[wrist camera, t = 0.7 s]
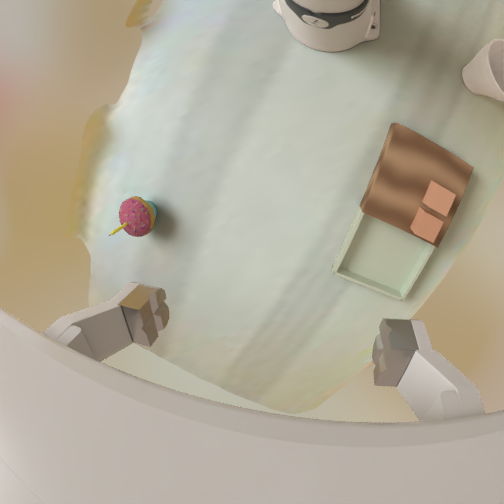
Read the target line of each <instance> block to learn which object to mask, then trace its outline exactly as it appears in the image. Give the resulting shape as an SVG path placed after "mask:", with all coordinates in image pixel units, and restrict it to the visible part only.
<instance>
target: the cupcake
mask: <svg viewBox="0 0 504 504" xmlns="http://www.w3.org/2000/svg"><path fill="white" fill-rule="evenodd" d="M156 215H157V211H156V208H155V206H154V204H153V203H151V202H150V201H145V200H143V199H142V198H141V197H137V196H135V197H131V198H129V199H126V201H124V202H122V205H121V207H120V211H119V218H120V222H121V226H120V227H118V228H117V229H115V230H114V231H112V232H111V234H110V235H113V234H115V233H116V232H118V231H119V230H121V229H122V228H123V229H124V230H125V231H126V232H127V233H128V234H129V235H132V236H137V237H138V236H140V237H141V236H144V235H146V234H148V233H149V232H150V231H151V230H152V229H153V227H154V222H155V218H156ZM110 235H109V236H110Z"/></svg>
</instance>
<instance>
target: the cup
mask: <svg viewBox="0 0 504 504" xmlns="http://www.w3.org/2000/svg"><path fill="white" fill-rule="evenodd" d="M462 78H463V81H464V83H465V85H466V87H467V88H468V89H469V90H470V91H471V92H472V93H474V94H477V95H485V96H489V97H491V98H494V99H496V100H499V101H502V102H504V40H503V39H495V40H492V41H491V42H489V43H487V44H486V45H485V46H484V47H483V48H482V49H481V50H480V51H479V52H478V53H477V54H476V56H475V57H474V59H473V60H472V61H471V62H470V63H469V64H467V65H466V66H465V67H464V68H463V70H462Z"/></svg>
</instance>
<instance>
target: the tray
mask: <svg viewBox="0 0 504 504" xmlns="http://www.w3.org/2000/svg"><path fill="white" fill-rule="evenodd" d="M434 248H435V246H434V245H432V244H430V243H428V242H426V241H424V240H422V239H420V238H418V237H416V236H413V235H411V234H409V233H407V232H405V231H403V230H401V229H399V228H397V227H394V226H392V225H390V224H388V223H386V222H384V221H381V220H379V219H377V218H375V217H372V216H370V215H368V214H365V213H363V212H362V210H361V208H360V206H359V209H358V211H357V213H356V215H355V218H354V220H353V222H352V224H351V227H350V229H349V231H348V233H347V236H346V238H345V240H344V242H343V244H342V246H341V249H340V251H339V253H338V255H337V257H336V259H335V261H334V263H333V265H332V274H334V275H337V276H339V277H342V278H344V279H347V280H350V281H352V282H355V283H357V284H360V285H362V286H365V287H368V288H370V289H373V290H375V291H378V292H380V293H383V294H385V295H388V296H390V297H393V298H396V299H398V300H401V301H403V300H404V299H405V297H406V296H407V294H408V293H409V291H410V289H411V288H412V286H413V285H414V283H415V281H416V280H417V278H418V276H419V275H420V273H421V271H422V269H423V268H424V266H425V264H426V263H427V261H428V259H429V257H430V255H431V254H432V252H433V250H434Z"/></svg>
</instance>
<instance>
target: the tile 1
mask: <svg viewBox="0 0 504 504" xmlns="http://www.w3.org/2000/svg"><path fill="white" fill-rule="evenodd" d="M443 223H444V222H443V221H442V220H441V219H440V218H439V217H438V216H436V215H434V214H432V213H430V212H429V211H427V210H425V209H423V208H421V207H419V210H418V212H417V214H416V216H415V218H414V220H413V222H412V225H411V227H410V228H411V230H412V231H413V232H414V234H416V235H418V236H420V237H422V238H424V239H426V240H428V241H430V242H432V243H434V241H435V239H436V237H437V235H438V233H439V231H440V229H441V227H442V225H443Z"/></svg>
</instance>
